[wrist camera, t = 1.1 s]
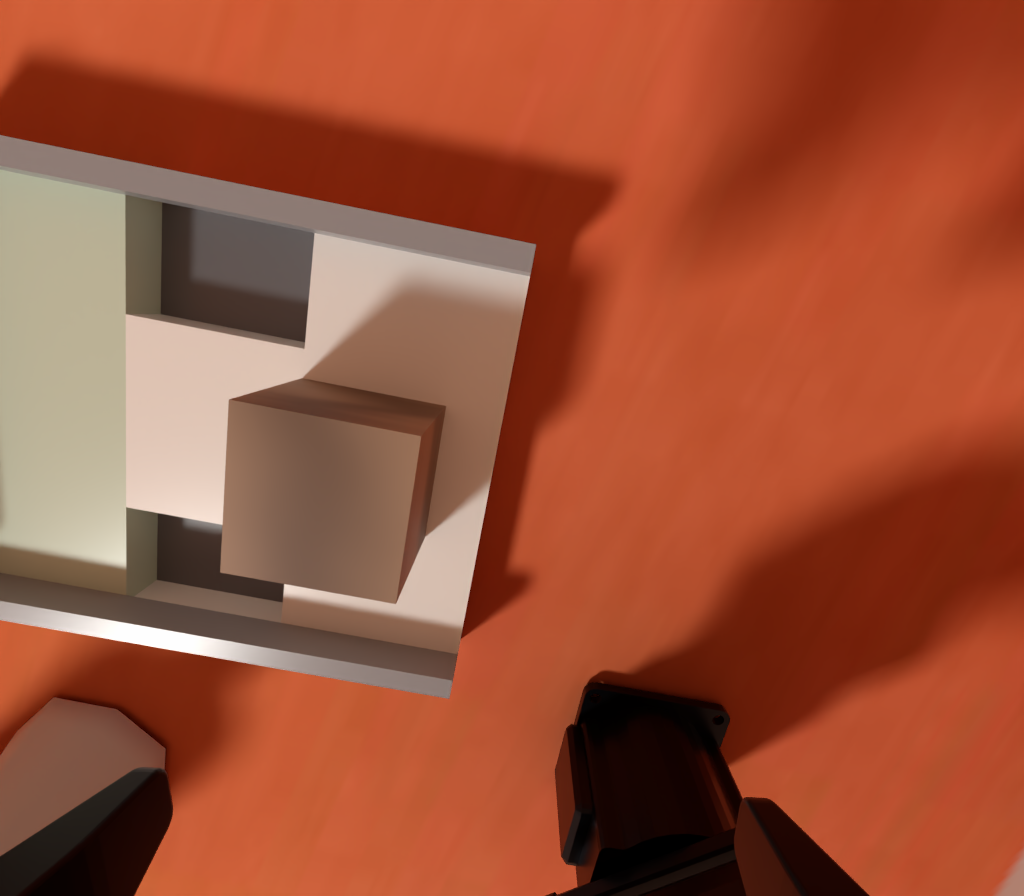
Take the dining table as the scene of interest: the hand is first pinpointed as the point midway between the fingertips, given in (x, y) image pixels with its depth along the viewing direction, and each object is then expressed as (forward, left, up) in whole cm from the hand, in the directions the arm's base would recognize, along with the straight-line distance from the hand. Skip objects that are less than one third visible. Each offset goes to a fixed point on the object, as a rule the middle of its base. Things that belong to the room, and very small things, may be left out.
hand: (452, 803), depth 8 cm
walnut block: (+5, -1, -11) cm, 12 cm away
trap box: (+10, -1, -13) cm, 17 cm away
